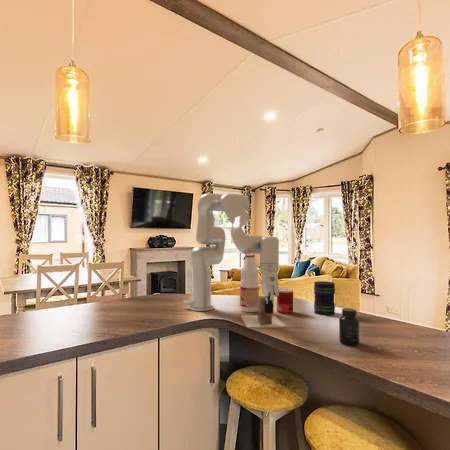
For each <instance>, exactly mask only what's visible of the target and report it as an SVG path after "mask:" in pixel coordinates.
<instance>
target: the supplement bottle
mask: <svg viewBox="0 0 450 450" xmlns="http://www.w3.org/2000/svg"><path fill="white" fill-rule="evenodd" d="M357 312H358V311H357V310H356V309H355V308H352V307H351V308H349V307H345V308H342V309H341V316H340V317H339V319H338V323H339V324H338V325H339V327H338V330H339V331H338V333H339V334H338V336H339V337H338V339H339V343H340V344H341V345H342V346H347V347H359V345H360V343H361V342H360V341H361V340H360V339H361V335H360V334H361V331H360V329H361V328H360V327H361V325H360V323H361V322H360V319H359V317H357V316H358V314H357Z"/></svg>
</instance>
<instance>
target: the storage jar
mask: <svg viewBox="0 0 450 450" xmlns="http://www.w3.org/2000/svg"><path fill="white" fill-rule="evenodd" d="M313 283H314V285H313V290H314V291H313V293H314V302H313V308H314V309H313V310H314V314H315V315H319V316H323V315H326V316H325V317H330V315H332V316H335V315H334V314H335V310H336V304H335V295H336V292H335V291H336V289H335V288H336V286H335V285H336V284H335V282H332V281H322V280H321V281H319V280H317V281H314V282H313Z"/></svg>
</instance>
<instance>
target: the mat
mask: <svg viewBox="0 0 450 450" xmlns="http://www.w3.org/2000/svg"><path fill="white" fill-rule="evenodd" d="M240 316H241V319H242V321H243V322H244V324H245V326H246V327H247V329H255V328H258V329H260V328H286V325H285V324H284V323H283V322H282V321H281V320H280V319H279V318H278V317H277V316H276V315H275V314H272V325H266V326H260V325H259V323H258V314H256V315H240Z"/></svg>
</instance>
